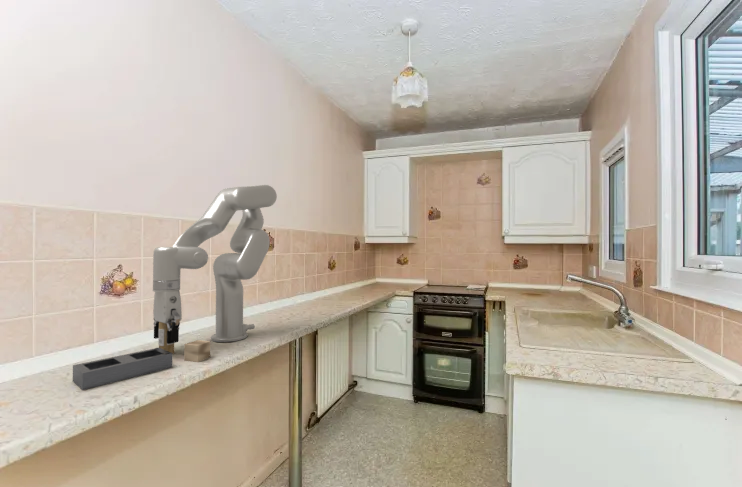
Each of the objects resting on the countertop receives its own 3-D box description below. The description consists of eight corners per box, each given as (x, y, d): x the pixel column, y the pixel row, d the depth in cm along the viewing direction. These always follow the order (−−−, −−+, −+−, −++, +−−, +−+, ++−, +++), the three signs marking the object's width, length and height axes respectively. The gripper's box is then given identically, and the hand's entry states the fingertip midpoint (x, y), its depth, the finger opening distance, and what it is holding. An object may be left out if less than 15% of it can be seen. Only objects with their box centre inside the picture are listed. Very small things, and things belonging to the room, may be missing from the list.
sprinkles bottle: (175, 355, 110) (175, 312, 110) (158, 357, 107) (158, 313, 107) (174, 351, 113) (174, 310, 114) (157, 353, 111) (158, 311, 111)
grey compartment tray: (159, 360, 104) (159, 347, 104) (172, 367, 98) (172, 353, 98) (72, 381, 88) (72, 365, 88) (82, 390, 83) (82, 373, 83)
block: (197, 356, 109) (197, 340, 109) (210, 357, 108) (210, 341, 108) (184, 360, 104) (184, 344, 104) (197, 362, 103) (197, 345, 103)
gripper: (191, 286, 108) (190, 342, 108) (167, 283, 119) (167, 333, 118) (165, 289, 102) (164, 347, 102) (142, 285, 113) (141, 338, 112)
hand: (165, 340), depth 110 cm, fingers open, 9 cm apart
